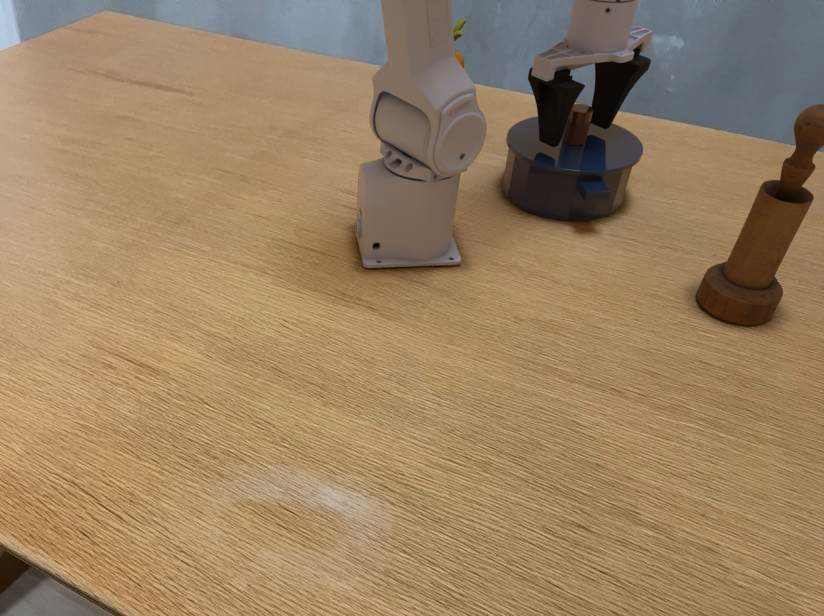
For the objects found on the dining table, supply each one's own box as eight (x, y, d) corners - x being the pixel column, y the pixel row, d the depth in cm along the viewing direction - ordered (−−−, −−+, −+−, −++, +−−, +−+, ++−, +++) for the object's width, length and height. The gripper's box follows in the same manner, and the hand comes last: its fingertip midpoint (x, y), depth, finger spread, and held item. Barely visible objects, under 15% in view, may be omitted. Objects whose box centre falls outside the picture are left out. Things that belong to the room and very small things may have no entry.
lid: (524, 183, 81) (533, 139, 78) (491, 126, 92) (498, 84, 89) (661, 178, 82) (675, 134, 79) (613, 121, 92) (624, 80, 89)
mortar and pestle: (777, 332, 71) (882, 130, 59) (698, 318, 72) (784, 118, 60) (768, 290, 76) (863, 96, 63) (693, 278, 77) (773, 85, 65)
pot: (526, 236, 83) (536, 187, 79) (484, 157, 96) (492, 112, 93) (649, 232, 83) (664, 183, 80) (590, 154, 97) (601, 109, 93)
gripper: (586, 19, 71) (554, 166, 80) (693, -10, 77) (652, 130, 86) (527, -1, 75) (502, 140, 85) (632, -27, 81) (599, 108, 90)
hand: (574, 134), depth 86 cm, fingers open, 7 cm apart
